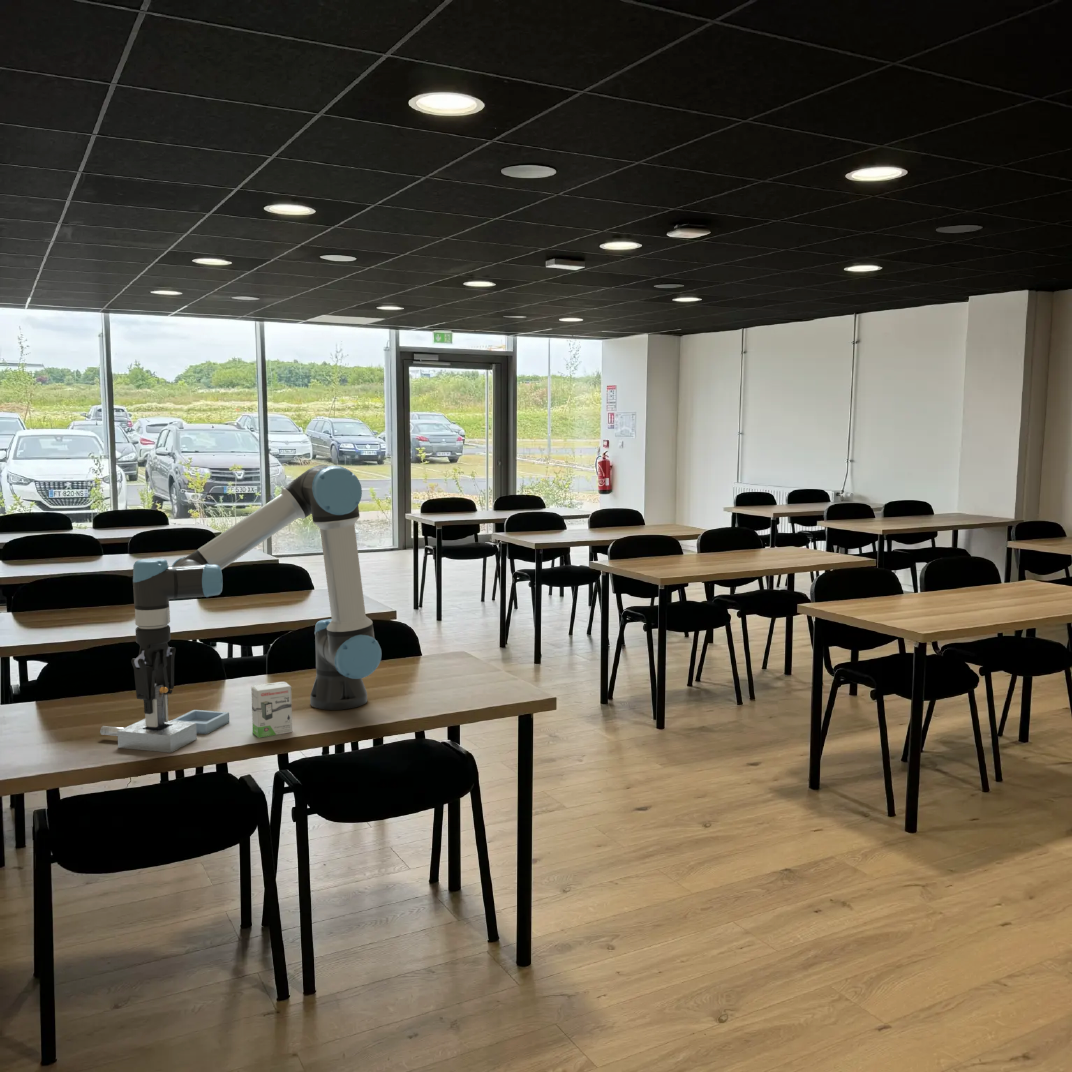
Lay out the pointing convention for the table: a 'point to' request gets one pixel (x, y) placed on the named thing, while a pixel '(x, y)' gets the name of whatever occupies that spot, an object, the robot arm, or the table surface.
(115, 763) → the table surface
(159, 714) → the pin
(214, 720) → the parts tray
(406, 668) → the table surface
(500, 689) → the table surface
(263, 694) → the ink box
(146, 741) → the block
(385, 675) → the table surface
